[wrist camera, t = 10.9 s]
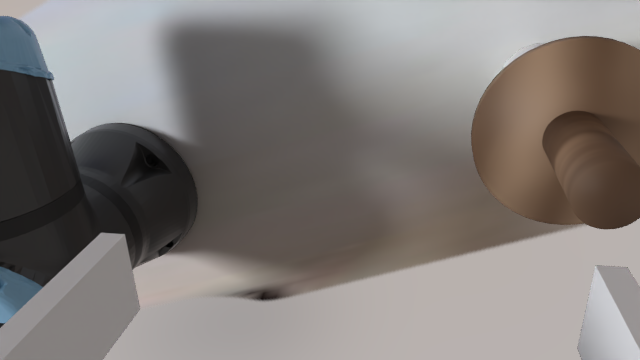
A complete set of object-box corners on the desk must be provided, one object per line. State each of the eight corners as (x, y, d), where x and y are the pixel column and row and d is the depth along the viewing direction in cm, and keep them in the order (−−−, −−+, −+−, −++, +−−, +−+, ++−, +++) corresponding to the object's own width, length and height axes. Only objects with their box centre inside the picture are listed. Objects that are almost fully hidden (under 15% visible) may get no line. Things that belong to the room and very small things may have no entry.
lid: (467, 214, 38) (475, 291, 30) (475, 39, 33) (488, 75, 25) (657, 220, 35) (722, 306, 27) (698, 32, 30) (792, 69, 22)
